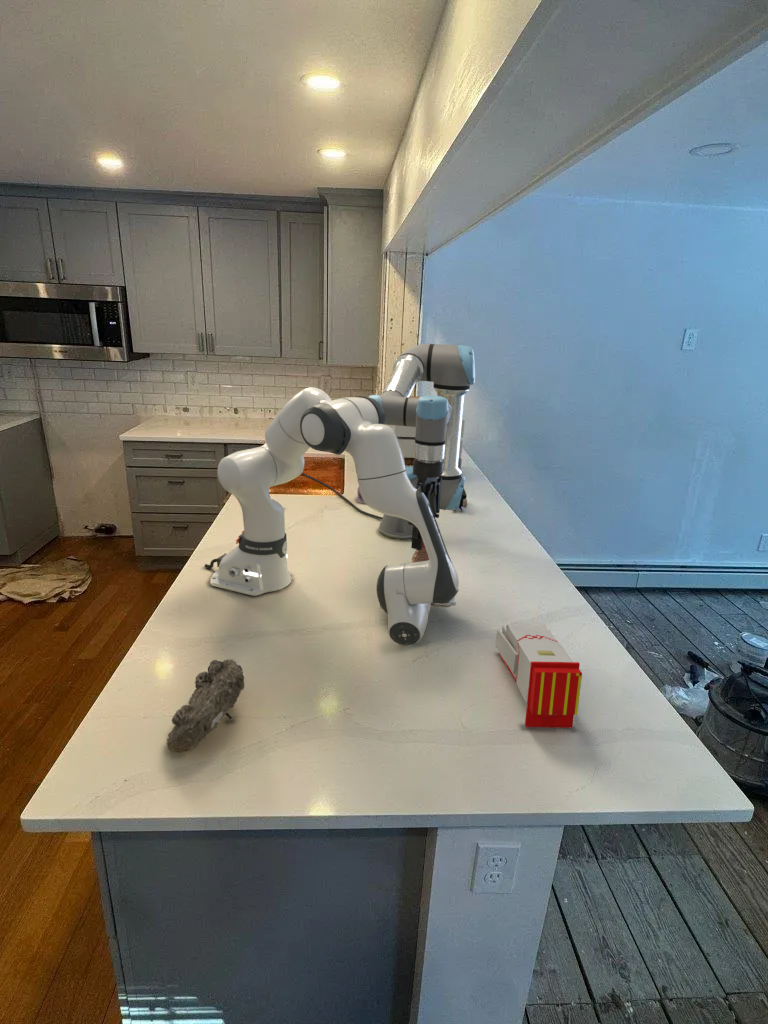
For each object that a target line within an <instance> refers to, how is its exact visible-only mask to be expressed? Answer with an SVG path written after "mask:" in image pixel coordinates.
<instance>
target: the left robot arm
mask: <svg viewBox="0 0 768 1024" xmlns="http://www.w3.org/2000/svg"><path fill="white" fill-rule="evenodd" d="M264 440H265V444H263V445H261V446H257V447H252V448H248V449H243V450H238V451H235V452H232V453H231V454H229V455H227V456H225V457H223V458H221V459H220V460H219V463H218V464H217V469H216V470H217V471H216V472H217V478H218V479H217V480H218V483H219V484H220V486H221V487H222V488H223V489H224V490H225V491H226V492H227V493H229V494H231V495H232V496H234V497H235V499H236V500H237V501H238V503H239V506H240V509H241V513H242V520H243V521H242V522H243V530H242V531H241V534H239V535H238V538H237V539H235V544H236V545H237V544H238V546H236V547H234V548H233V549H231V550H230V551H228V552H226V553H224V554H222V555H221V556H219V557H217V558H213V559H212V560H211V561H210V562H209V564H207V563H205V564H204V567H205V568H207V569H212V568H213V567H214V565H215V563H216V567H217V568H218V569H216V570H215V571H214V573H213V574H212V575H211V577H210V583H209V584H210V586H211V587H216V588H220V589H224V590H227V591H232V592H236V593H239V594H245V595H247V596H252V597H254V596H255V597H256V596H260V595H263V594H265V593H271V592H276V591H279V590H282V589H284V588H286V587H288V586H289V585H290V584H291V583H292V580H293V579H292V575H291V572H290V569H289V565H288V559H287V558H289V557H288V539H287V533H286V523H285V522H286V521H285V520H286V519H285V518H286V517H285V515H286V514H285V507H284V506H283V505H282V504H281V503H280V502H278V501H277V500H275V499H273V498H271V495H270V488H272V487H275V486H279V485H282V484H287V483H288V482H290V481H293V480H294V479H296V478H298V477H300V476H302V475H301V473H303V472H304V469H305V457H304V455H305V454H306V452H308V450H309V449H312V450H314V451H319V452H323V453H330V454H333V455H337V456H340V455H342V454H343V453H344V452H347V453H348V454H349V455H350V457H351V458H352V459H353V463H354V467H355V473H356V478H357V484H358V486H359V489H360V492H361V496H362V498H363V500H364V502H365V503H364V504H366V506H368V507H369V508H371V509H372V510H373V511H375V512H377V513H380V514H382V515H384V514H385V515H389V516H394V517H398V518H402V519H405V520H407V521H410V522H411V523H413V524H414V525H415V526H416V527H417V528H418V529H419V531H420V534H421V537H422V539H423V542H424V545H425V548H426V550H427V553H428V556H429V560H428V561H421V562H413V563H412V562H402V563H394V564H387V565H386V566H384V567H383V569H382V570H381V571H380V573H379V575H378V577H377V581H376V597H377V600H378V605H379V609H381V610H383V611H384V613H385V614H386V615H387V617H388V619H387V620H388V621H387V622H388V623H387V625H388V626H387V632H388V636H389V638H390V639H391V641H392V642H394V644H395V643H396V644H397V645H399V646H404V647H405V646H413V645H416V644H417V643H419V642H420V641H421V640H422V638H423V637H424V634H425V632H426V630H427V626H428V622H429V615H430V614H431V613H430V612H431V608H432V607H438V608H446V609H447V608H450V607H453V606H456V604H457V597H456V596H457V594H458V593H459V586H460V582H459V581H460V580H459V575H458V572H457V569H456V568H455V566H454V564H453V561H452V559H451V557H450V554H449V552H448V549H447V547H446V544H445V541H444V538H443V536H442V533H441V531H440V530H441V529H440V528H439V525H438V524H439V523H438V521H437V518H435V516H434V514H433V511H432V508H431V506H430V504H429V501H428V499H427V498H426V496H425V494H424V493H423V492H421V491H418V490H416V489H415V488H414V486H413V485H412V484H411V482H410V480H409V478H408V476H407V472H406V467H407V466H406V465H405V462H404V458H403V454H402V450H401V447H400V444H399V441H398V439H397V436H396V434H395V432H394V430H393V429H392V428H391V427H389V426H387V425H385V413H384V410H383V407H382V406H381V404H380V403H379V402H378V401H377V400H375V399H373V398H370V397H369V396H366V395H356V396H349V397H340V398H336V399H332V397H330V395H329V394H328V393H326V392H325V390H322V389H321V388H318V387H313V386H311V387H306V388H303V389H301V390H300V391H299V392H297V393H296V394H295V395H294V396H293V397H292V398H291V399H290V400H289V401H287V403H285V405H284V406H283V407H282V408H281V409H280V411H279V412H278V413H277V414H276V416H275V417H274V418H273V420H272V421H271V422H270V424H269V425H268V426H267V427H266V429H265V432H264Z"/></svg>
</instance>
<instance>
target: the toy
mask: <svg viewBox="0 0 768 1024" xmlns="http://www.w3.org/2000/svg"><path fill="white" fill-rule="evenodd" d="M551 631H552V630H551V629H550V628H548V627H547V625H546V624H545V623H506V625H502V628H501V629H500V628H499V629H497V630H496V636H495V637H496V638H495V644H494V647H495V649H496V651H497V652H498V655H499V657H500V659H501V661H502V662H503V664H504V666H505V667H506V669H507V670H508V672H509V674H510V676H511V677H512V679H513V680H514V682H515V683H516V686H517V688H518V690H519V693H520V694H521V695H522V698H523V700H524V702H525V704H526V708H525V709H526V710H525V721H524V727H525V728H552V729H553V728H555V729H556V728H557V729H562V728H563V729H573V726H574V719H575V716H578V712H579V703H580V695H581V687H582V677H583V672H582V670H580V667H581V665H580V662H578V661H573V659H572V657H570V656H569V655H570V654H568V653H567V651H566V650H565V649H564V647H563V646H562V645H561V644H560V641H558V639H557V638H556V637H555V636H554V634H553V633H552V632H551Z"/></svg>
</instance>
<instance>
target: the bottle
mask: <svg viewBox="0 0 768 1024" xmlns="http://www.w3.org/2000/svg"><path fill="white" fill-rule="evenodd" d="M428 560H429V556H428V553H427V550H426V548H422V550H417V549H415V551H414V553H413V554H412V557H411V563H413V562H421V561H428Z"/></svg>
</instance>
